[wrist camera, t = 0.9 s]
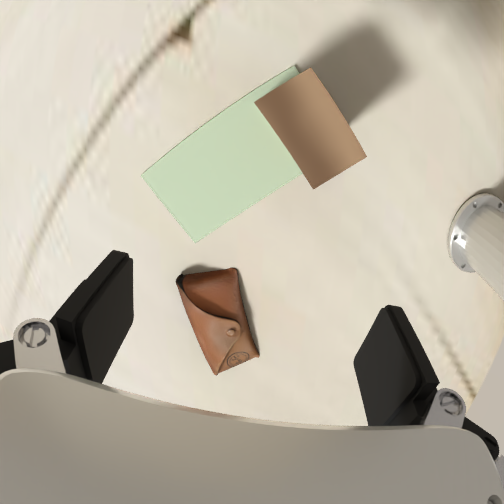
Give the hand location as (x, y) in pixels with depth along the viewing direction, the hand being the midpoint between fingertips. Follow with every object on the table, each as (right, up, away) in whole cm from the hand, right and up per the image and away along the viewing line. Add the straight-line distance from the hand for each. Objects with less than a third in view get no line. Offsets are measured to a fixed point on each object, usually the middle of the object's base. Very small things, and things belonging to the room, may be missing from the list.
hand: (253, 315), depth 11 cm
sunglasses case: (-4, -8, +35) cm, 36 cm away
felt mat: (-1, +13, +23) cm, 27 cm away
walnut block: (+5, +17, +21) cm, 27 cm away
